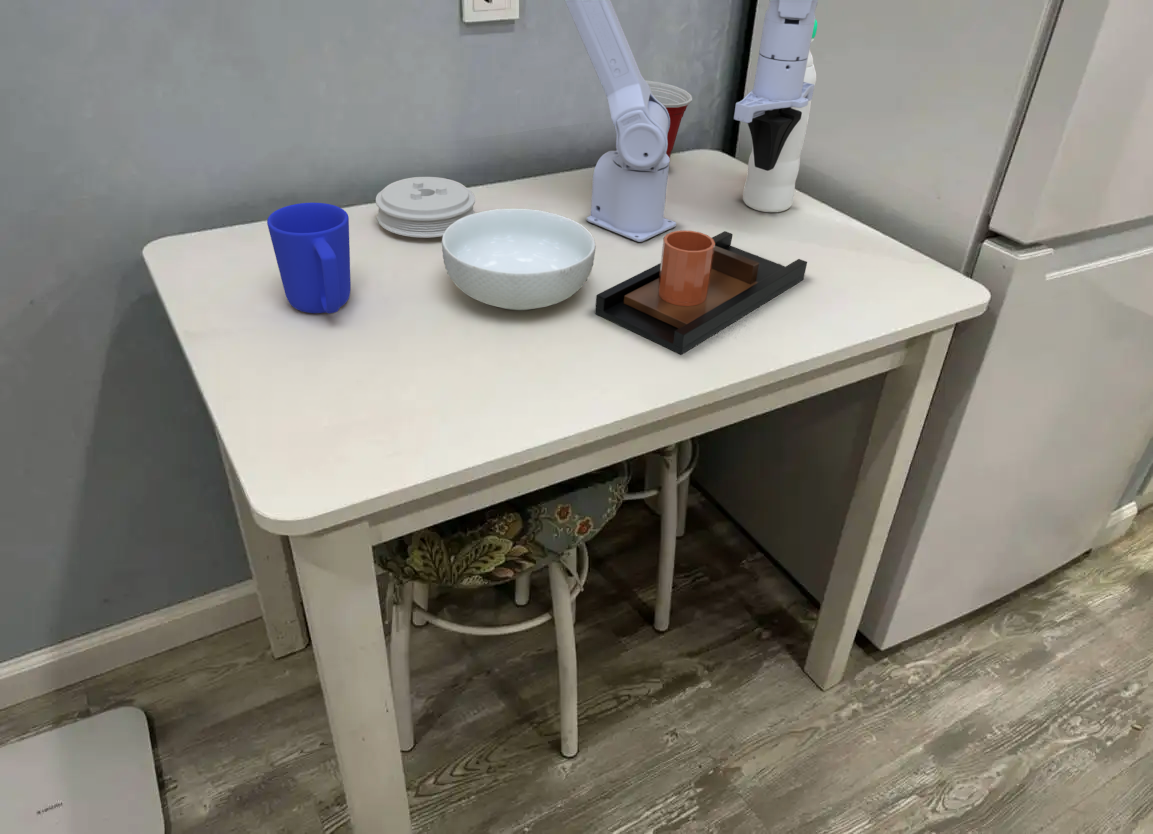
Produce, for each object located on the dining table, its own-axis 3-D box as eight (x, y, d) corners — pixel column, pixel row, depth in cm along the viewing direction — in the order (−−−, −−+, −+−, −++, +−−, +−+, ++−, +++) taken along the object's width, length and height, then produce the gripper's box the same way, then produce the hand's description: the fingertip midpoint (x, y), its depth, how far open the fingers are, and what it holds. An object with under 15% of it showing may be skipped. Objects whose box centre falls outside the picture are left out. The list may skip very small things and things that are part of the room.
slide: (623, 303, 100) (625, 276, 98) (696, 265, 109) (700, 239, 107) (686, 332, 95) (690, 304, 93) (757, 290, 104) (762, 263, 102)
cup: (648, 293, 100) (653, 240, 96) (677, 278, 103) (684, 226, 100) (687, 311, 97) (695, 256, 93) (716, 295, 101) (724, 241, 97)
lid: (493, 232, 116) (492, 195, 113) (403, 252, 110) (400, 214, 107) (448, 198, 124) (446, 163, 121) (362, 215, 118) (358, 179, 115)
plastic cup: (679, 186, 132) (689, 103, 125) (607, 177, 133) (613, 95, 126) (687, 161, 140) (696, 83, 133) (619, 153, 142) (625, 75, 135)
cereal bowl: (467, 341, 94) (465, 281, 89) (428, 272, 106) (425, 216, 102) (615, 318, 99) (620, 259, 95) (562, 254, 111) (564, 200, 107)
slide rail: (594, 313, 100) (596, 294, 98) (722, 248, 115) (724, 230, 114) (681, 355, 93) (683, 335, 92) (803, 279, 109) (807, 261, 107)
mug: (299, 344, 92) (285, 255, 86) (273, 292, 100) (259, 208, 94) (377, 328, 95) (369, 241, 89) (346, 279, 103) (336, 197, 98)
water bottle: (795, 215, 125) (833, 24, 110) (745, 212, 125) (776, 21, 110) (786, 195, 131) (821, 12, 116) (738, 193, 130) (767, 9, 116)
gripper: (779, 73, 98) (759, 191, 106) (844, 52, 107) (821, 162, 115) (726, 59, 102) (710, 174, 110) (793, 40, 111) (774, 148, 119)
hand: (764, 167), depth 113 cm, fingers closed
